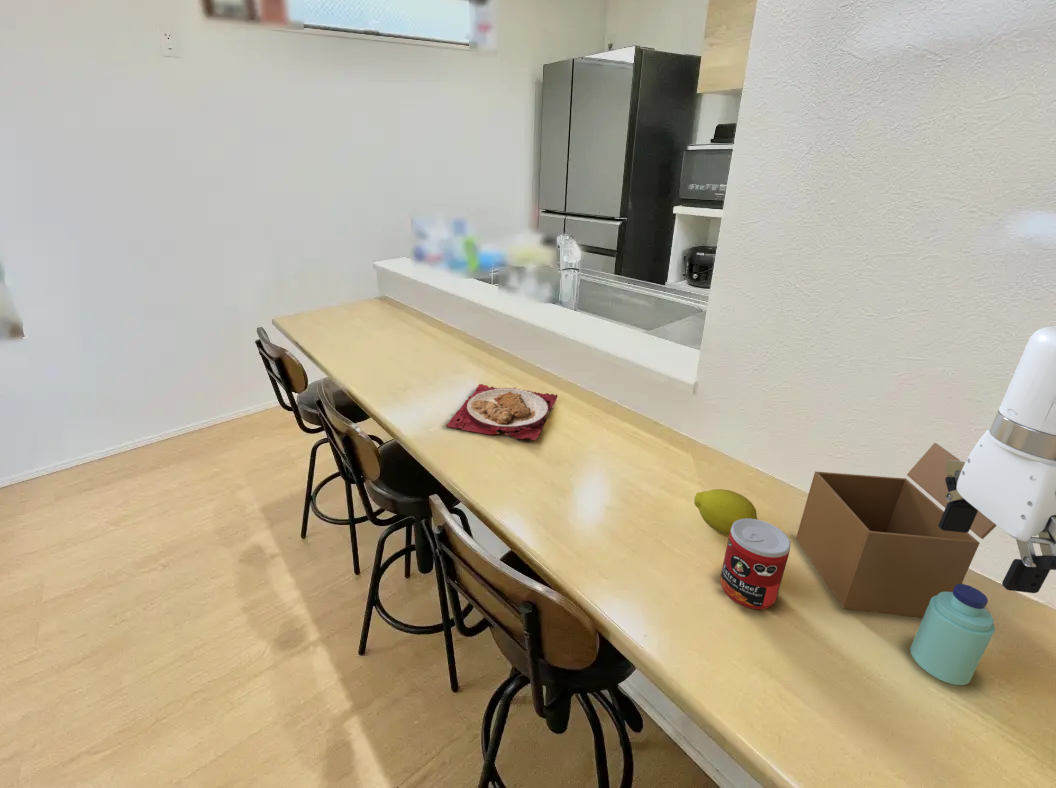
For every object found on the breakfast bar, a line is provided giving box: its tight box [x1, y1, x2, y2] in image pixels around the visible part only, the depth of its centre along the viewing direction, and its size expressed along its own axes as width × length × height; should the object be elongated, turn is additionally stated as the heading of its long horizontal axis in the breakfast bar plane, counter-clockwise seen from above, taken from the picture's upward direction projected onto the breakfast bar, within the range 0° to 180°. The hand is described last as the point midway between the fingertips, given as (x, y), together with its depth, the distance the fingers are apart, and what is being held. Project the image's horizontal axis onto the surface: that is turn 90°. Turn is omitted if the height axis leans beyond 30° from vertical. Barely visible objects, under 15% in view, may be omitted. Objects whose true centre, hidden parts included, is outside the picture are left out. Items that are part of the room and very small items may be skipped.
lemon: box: [694, 488, 759, 537], centre depth 90 cm, size 11×8×8 cm
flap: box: [906, 442, 998, 540], centre depth 73 cm, size 7×15×1 cm
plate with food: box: [445, 383, 559, 441], centre depth 133 cm, size 24×26×4 cm
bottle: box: [909, 583, 996, 686], centre depth 65 cm, size 6×6×12 cm
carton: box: [795, 471, 981, 619], centre depth 78 cm, size 14×15×14 cm
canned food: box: [719, 518, 792, 610], centre depth 76 cm, size 8×8×11 cm
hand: (983, 557), depth 61 cm, fingers open, 9 cm apart
